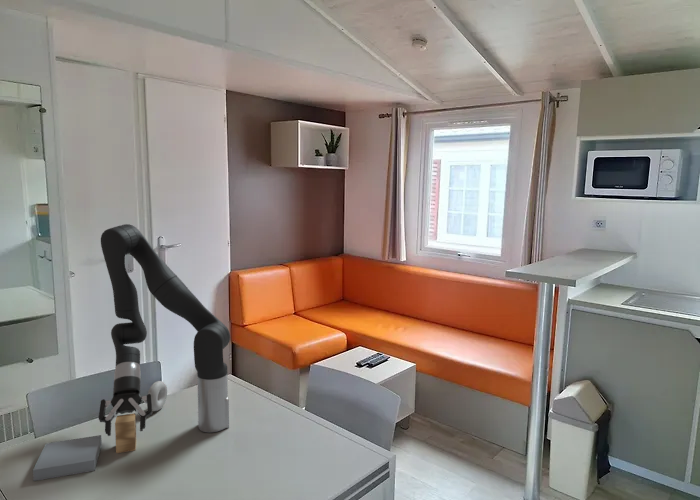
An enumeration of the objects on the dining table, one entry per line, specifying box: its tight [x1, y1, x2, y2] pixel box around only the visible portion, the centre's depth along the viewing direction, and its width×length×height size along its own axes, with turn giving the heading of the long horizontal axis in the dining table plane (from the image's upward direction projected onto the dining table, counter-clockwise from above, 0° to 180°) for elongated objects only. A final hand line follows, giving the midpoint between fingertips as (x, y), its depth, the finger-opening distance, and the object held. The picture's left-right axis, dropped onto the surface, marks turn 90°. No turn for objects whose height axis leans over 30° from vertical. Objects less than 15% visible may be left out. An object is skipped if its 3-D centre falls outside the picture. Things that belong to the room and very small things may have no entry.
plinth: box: [32, 434, 103, 482], centre depth 130 cm, size 14×14×3 cm
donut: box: [147, 380, 168, 412], centre depth 162 cm, size 10×4×10 cm, turn 173°
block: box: [114, 412, 137, 454], centre depth 137 cm, size 5×5×9 cm
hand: (125, 432), depth 137 cm, fingers open, 8 cm apart
